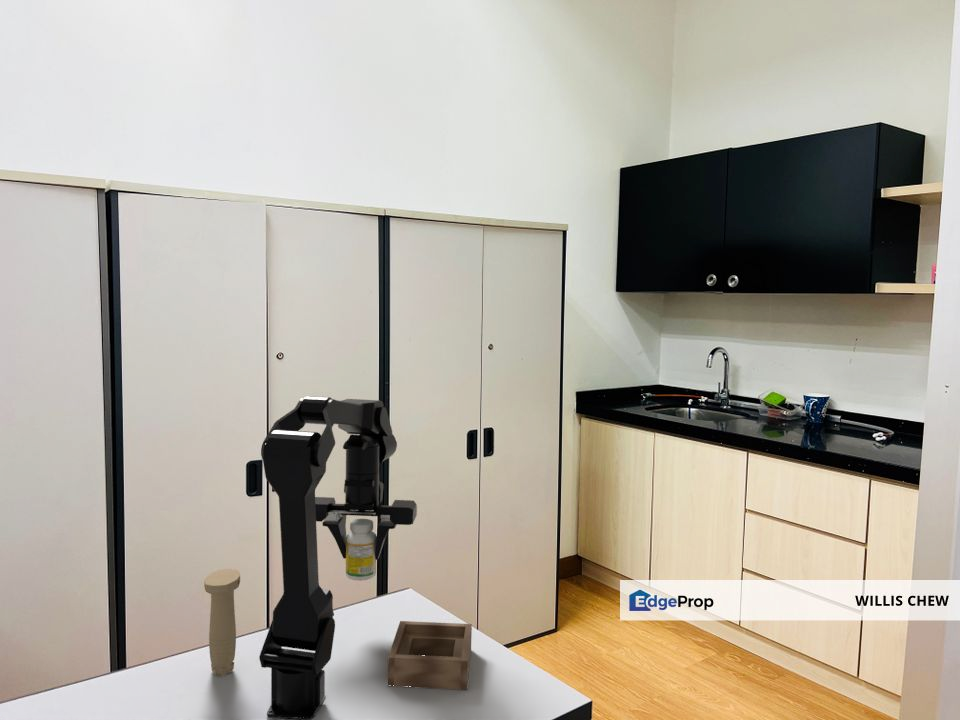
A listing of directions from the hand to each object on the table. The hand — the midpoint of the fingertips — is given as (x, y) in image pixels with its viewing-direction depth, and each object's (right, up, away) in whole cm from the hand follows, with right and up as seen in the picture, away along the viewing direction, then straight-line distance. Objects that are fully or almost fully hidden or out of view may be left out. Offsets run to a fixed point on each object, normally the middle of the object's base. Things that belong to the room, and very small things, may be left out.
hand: (361, 558), depth 120 cm
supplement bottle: (0, -3, 0) cm, 3 cm away
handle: (-19, -14, -14) cm, 27 cm away
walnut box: (+13, -14, -12) cm, 22 cm away
